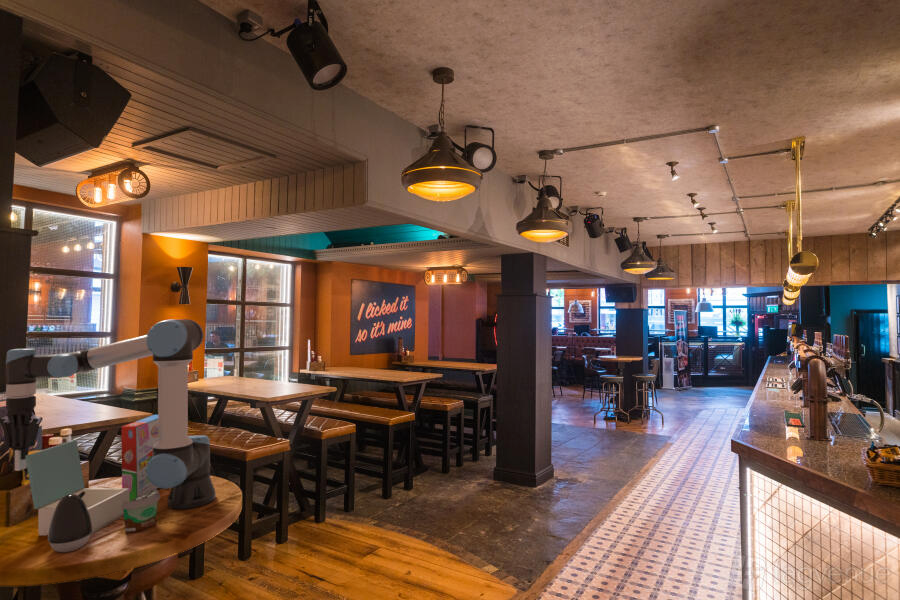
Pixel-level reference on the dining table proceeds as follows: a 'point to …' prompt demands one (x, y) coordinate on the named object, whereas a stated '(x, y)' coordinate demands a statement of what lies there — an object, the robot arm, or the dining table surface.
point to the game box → (138, 455)
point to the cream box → (91, 507)
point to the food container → (141, 512)
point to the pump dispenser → (70, 524)
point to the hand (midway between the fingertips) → (20, 469)
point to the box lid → (54, 473)
